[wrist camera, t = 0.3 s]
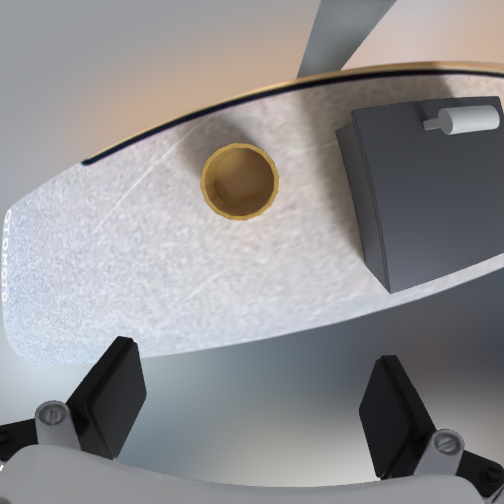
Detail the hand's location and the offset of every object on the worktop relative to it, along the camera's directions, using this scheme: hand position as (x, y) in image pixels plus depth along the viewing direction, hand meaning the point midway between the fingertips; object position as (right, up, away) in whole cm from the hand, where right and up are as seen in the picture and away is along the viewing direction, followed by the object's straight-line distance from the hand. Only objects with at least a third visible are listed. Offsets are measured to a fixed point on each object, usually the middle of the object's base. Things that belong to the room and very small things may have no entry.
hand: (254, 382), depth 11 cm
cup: (-1, +12, +17) cm, 21 cm away
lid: (+17, +10, +10) cm, 22 cm away
